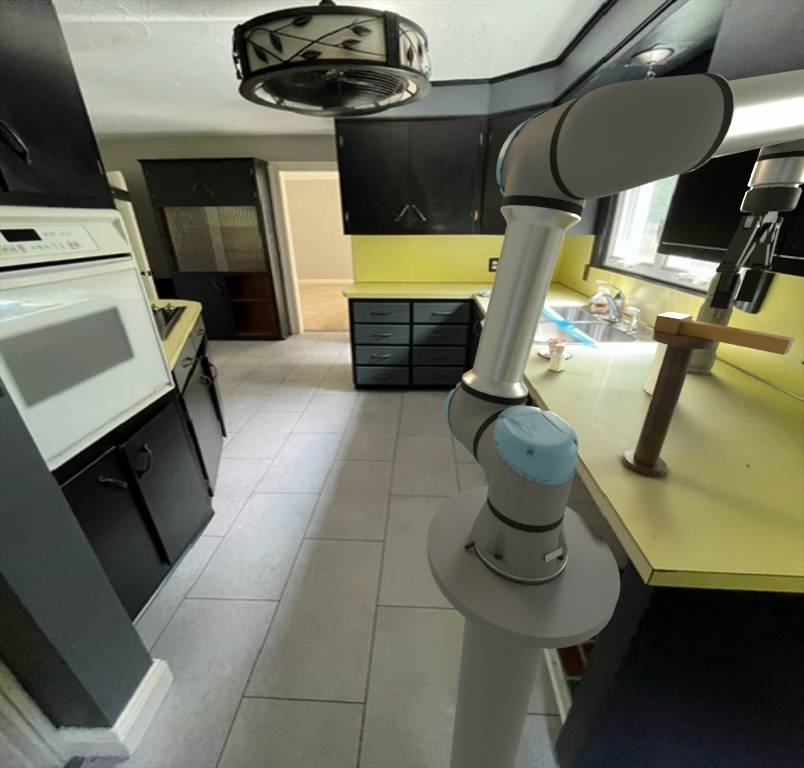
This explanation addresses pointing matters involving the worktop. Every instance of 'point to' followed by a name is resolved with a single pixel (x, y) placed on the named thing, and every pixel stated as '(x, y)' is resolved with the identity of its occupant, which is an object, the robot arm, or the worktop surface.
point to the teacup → (553, 347)
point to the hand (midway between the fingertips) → (731, 304)
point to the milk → (655, 368)
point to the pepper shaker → (557, 358)
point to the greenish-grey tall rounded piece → (707, 314)
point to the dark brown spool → (663, 402)
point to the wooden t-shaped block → (722, 333)
